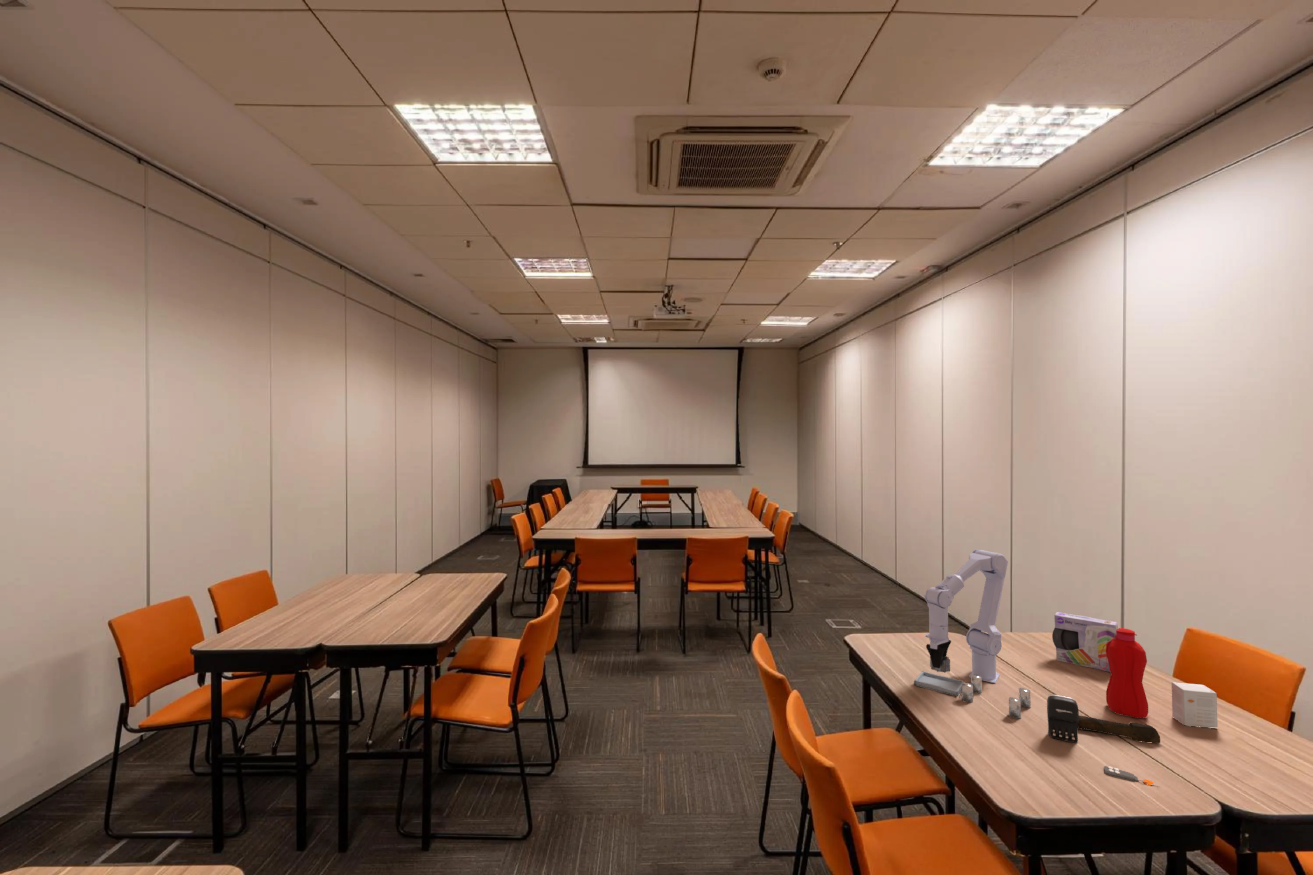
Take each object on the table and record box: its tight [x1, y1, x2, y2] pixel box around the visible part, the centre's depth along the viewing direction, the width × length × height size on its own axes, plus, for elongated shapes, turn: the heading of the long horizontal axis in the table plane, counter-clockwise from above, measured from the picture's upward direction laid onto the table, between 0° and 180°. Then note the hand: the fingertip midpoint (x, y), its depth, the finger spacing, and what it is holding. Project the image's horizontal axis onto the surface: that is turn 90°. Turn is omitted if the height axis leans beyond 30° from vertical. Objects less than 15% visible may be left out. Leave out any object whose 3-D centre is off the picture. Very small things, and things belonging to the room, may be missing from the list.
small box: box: [1171, 681, 1219, 728], centre depth 158 cm, size 8×6×10 cm
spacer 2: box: [970, 674, 983, 694], centre depth 179 cm, size 3×3×5 cm
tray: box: [913, 670, 965, 697], centre depth 184 cm, size 10×13×2 cm
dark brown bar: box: [1078, 715, 1161, 744], centre depth 152 cm, size 19×4×5 cm, turn 59°
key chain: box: [1103, 765, 1154, 786], centre depth 132 cm, size 13×4×2 cm, turn 54°
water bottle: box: [1099, 627, 1149, 720], centre depth 166 cm, size 9×11×25 cm
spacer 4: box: [1018, 687, 1032, 709], centre depth 169 cm, size 3×3×5 cm
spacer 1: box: [961, 682, 974, 703], centre depth 173 cm, size 3×3×5 cm
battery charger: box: [1046, 694, 1080, 743], centre depth 150 cm, size 7×4×11 cm, turn 61°
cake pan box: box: [1051, 611, 1119, 673], centre depth 200 cm, size 19×5×18 cm, turn 42°
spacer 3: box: [1008, 697, 1022, 720], centre depth 163 cm, size 3×3×5 cm
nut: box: [929, 655, 951, 674], centre depth 184 cm, size 6×6×4 cm
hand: (939, 664), depth 184 cm, fingers closed on nut, 6 cm apart
